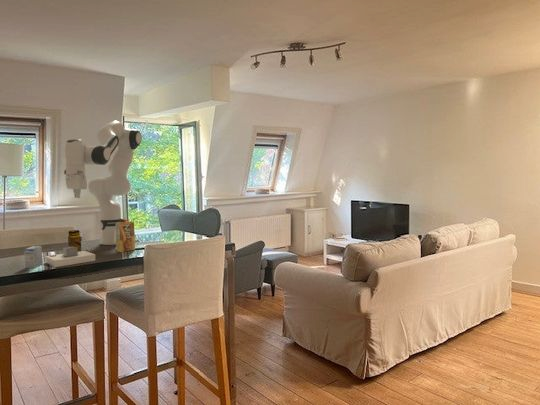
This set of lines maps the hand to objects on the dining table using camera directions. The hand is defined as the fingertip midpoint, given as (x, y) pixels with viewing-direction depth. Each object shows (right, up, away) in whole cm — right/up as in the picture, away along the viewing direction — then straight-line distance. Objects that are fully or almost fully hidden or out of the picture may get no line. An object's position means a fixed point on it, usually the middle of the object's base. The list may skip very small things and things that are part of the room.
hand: (77, 198), depth 219 cm
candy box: (+22, -28, +9) cm, 37 cm away
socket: (+4, -30, -16) cm, 35 cm away
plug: (+4, -30, -16) cm, 34 cm away
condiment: (-4, -29, +5) cm, 30 cm away
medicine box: (-9, -32, -24) cm, 41 cm away
